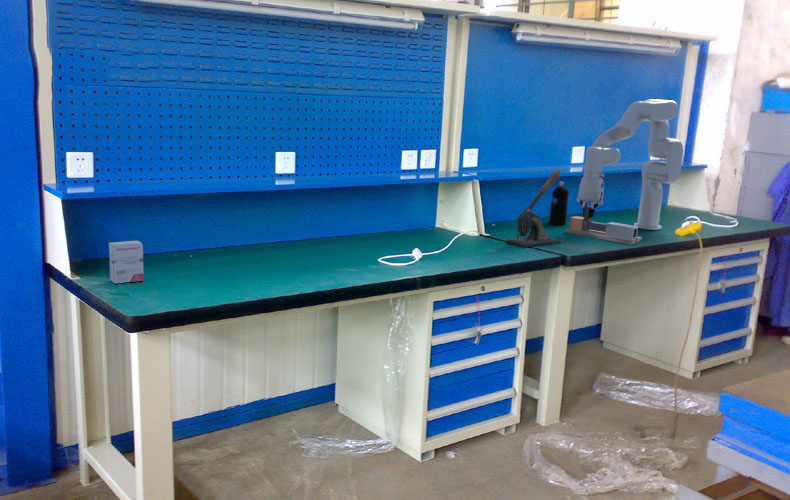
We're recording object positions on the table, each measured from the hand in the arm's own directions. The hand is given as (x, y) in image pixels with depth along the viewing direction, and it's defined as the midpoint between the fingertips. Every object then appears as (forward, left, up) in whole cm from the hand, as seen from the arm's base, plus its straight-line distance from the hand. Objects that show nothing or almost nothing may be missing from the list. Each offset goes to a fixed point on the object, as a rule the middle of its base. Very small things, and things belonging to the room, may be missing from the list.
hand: (588, 216), depth 322 cm
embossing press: (+38, -5, -8) cm, 39 cm away
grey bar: (0, +4, -6) cm, 7 cm away
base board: (0, +8, -8) cm, 11 cm away
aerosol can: (-10, -19, -8) cm, 23 cm away
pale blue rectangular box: (0, +16, -6) cm, 17 cm away
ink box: (+189, -57, -8) cm, 198 cm away
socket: (0, -4, -6) cm, 7 cm away
